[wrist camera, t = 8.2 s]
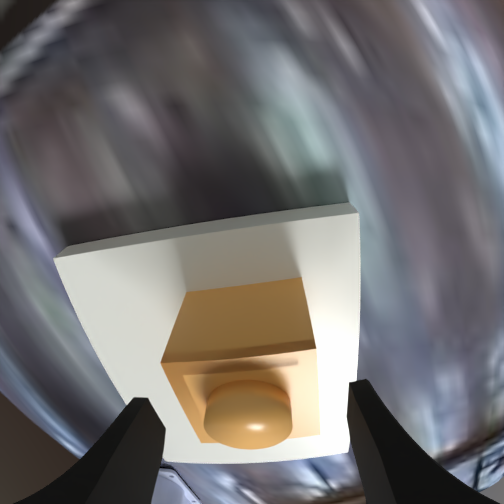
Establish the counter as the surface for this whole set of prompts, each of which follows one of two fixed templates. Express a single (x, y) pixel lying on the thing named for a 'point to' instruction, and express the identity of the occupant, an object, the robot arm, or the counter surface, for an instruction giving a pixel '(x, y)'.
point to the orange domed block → (246, 364)
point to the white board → (211, 277)
